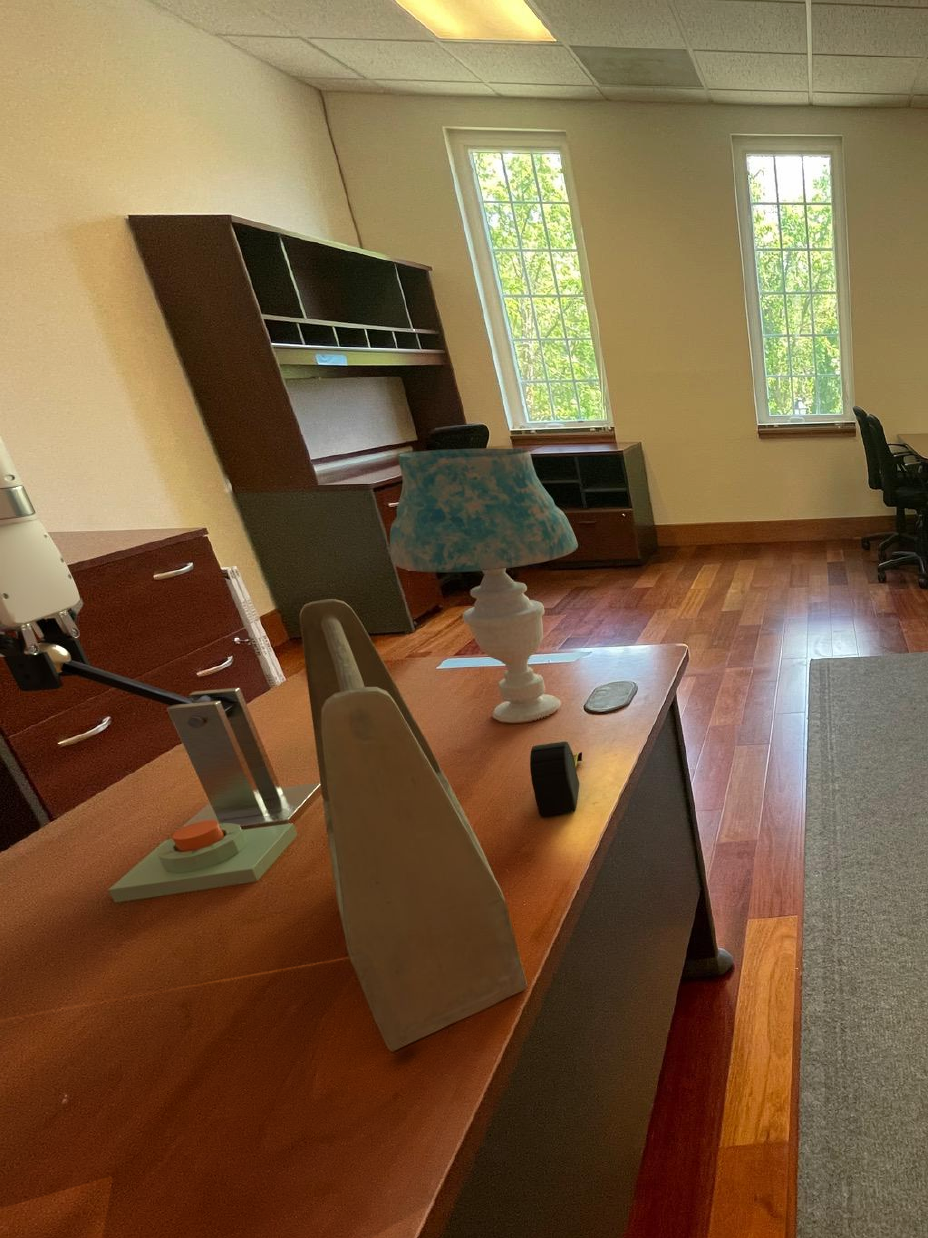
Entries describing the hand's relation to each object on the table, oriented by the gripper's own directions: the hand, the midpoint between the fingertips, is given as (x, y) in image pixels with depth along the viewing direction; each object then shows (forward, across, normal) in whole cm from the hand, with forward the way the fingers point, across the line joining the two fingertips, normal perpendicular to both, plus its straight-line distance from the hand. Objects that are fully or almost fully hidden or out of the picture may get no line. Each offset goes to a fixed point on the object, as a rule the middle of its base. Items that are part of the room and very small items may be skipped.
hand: (57, 680), depth 76 cm
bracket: (+19, 0, +12) cm, 23 cm away
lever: (+3, 0, +5) cm, 6 cm away
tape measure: (+19, +4, +47) cm, 51 cm away
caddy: (+19, +29, +39) cm, 52 cm away
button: (+16, +11, +13) cm, 23 cm away
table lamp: (+19, -24, +38) cm, 49 cm away
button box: (+19, +11, +13) cm, 26 cm away
